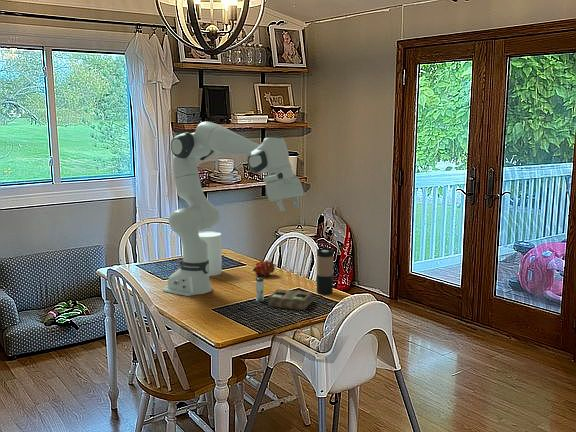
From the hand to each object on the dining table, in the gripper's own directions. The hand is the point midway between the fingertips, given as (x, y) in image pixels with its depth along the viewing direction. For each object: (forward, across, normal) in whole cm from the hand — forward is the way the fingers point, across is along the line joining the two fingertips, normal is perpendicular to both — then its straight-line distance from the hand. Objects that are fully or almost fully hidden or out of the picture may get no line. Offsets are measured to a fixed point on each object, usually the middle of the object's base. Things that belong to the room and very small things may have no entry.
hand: (289, 209), depth 240 cm
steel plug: (+35, -8, -32) cm, 48 cm away
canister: (+21, -30, -79) cm, 87 cm away
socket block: (+39, -12, -19) cm, 45 cm away
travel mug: (+40, -34, -16) cm, 55 cm away
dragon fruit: (+28, -41, -54) cm, 73 cm away
